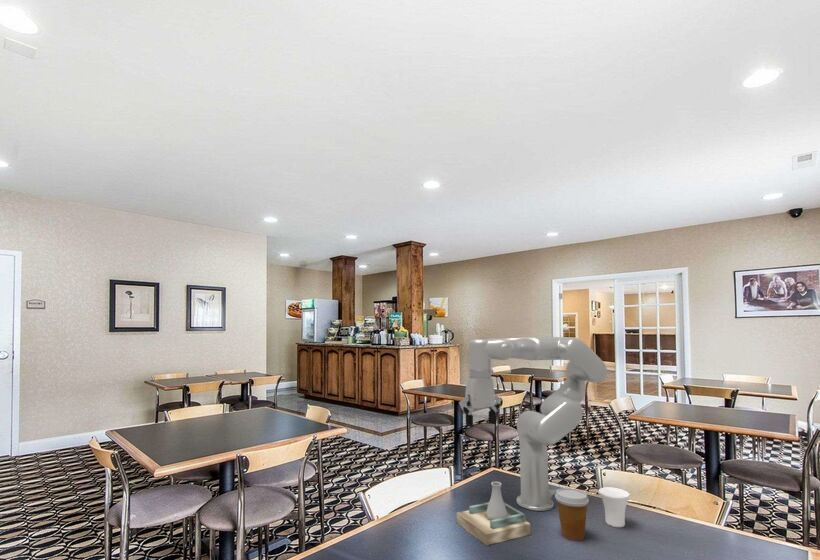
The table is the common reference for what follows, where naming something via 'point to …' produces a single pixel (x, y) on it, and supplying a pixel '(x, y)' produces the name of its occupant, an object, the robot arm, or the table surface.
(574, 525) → the disposable coffee cup
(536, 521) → the table surface
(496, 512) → the flask
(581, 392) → the robot arm
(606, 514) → the cup
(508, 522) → the dock
